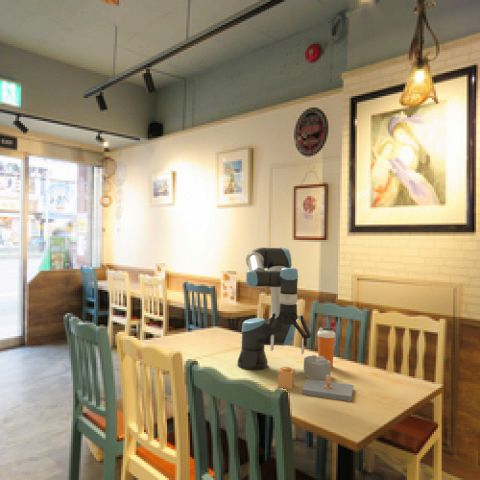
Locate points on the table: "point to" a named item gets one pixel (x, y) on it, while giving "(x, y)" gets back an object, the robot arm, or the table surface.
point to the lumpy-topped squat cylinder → (316, 367)
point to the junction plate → (328, 389)
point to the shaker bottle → (326, 343)
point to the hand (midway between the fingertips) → (287, 351)
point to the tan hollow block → (286, 377)
